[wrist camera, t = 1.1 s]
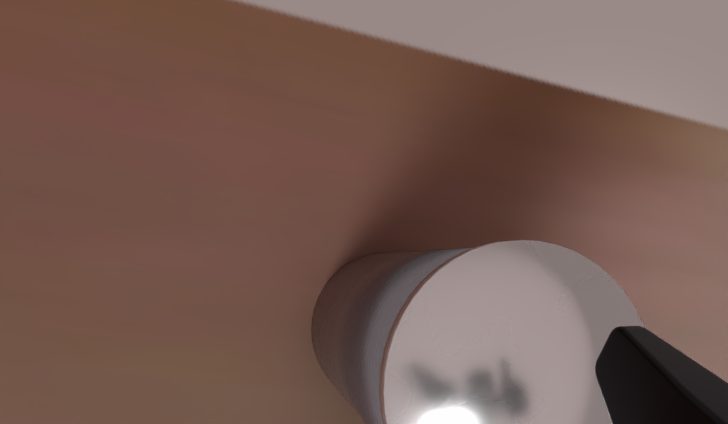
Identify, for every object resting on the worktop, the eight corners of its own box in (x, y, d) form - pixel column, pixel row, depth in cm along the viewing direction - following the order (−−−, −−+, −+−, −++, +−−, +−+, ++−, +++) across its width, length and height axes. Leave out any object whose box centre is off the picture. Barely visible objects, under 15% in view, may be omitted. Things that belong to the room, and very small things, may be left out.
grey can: (485, 311, 25) (703, 352, 14) (399, 437, 24) (558, 600, 12) (371, 220, 25) (498, 181, 13) (276, 345, 23) (322, 427, 12)
